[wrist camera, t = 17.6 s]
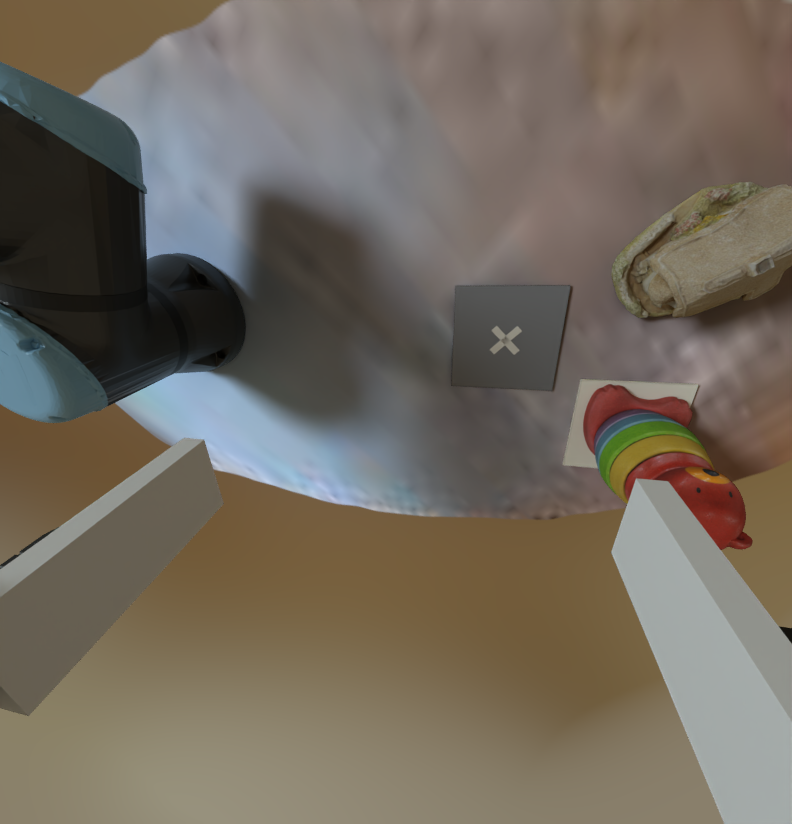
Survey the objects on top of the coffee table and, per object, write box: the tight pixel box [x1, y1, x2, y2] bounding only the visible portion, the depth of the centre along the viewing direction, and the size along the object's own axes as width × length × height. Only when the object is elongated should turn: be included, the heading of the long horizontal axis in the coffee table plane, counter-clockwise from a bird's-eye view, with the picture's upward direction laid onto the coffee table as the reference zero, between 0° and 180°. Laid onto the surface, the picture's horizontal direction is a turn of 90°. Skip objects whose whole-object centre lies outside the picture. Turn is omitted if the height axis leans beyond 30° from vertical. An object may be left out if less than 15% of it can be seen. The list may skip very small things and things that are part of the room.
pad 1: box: [451, 285, 570, 391], centre depth 42 cm, size 12×12×1 cm
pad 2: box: [563, 379, 698, 468], centre depth 44 cm, size 12×12×1 cm
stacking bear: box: [583, 384, 752, 550], centre depth 36 cm, size 11×10×18 cm
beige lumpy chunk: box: [612, 182, 792, 318], centre depth 31 cm, size 14×11×10 cm
